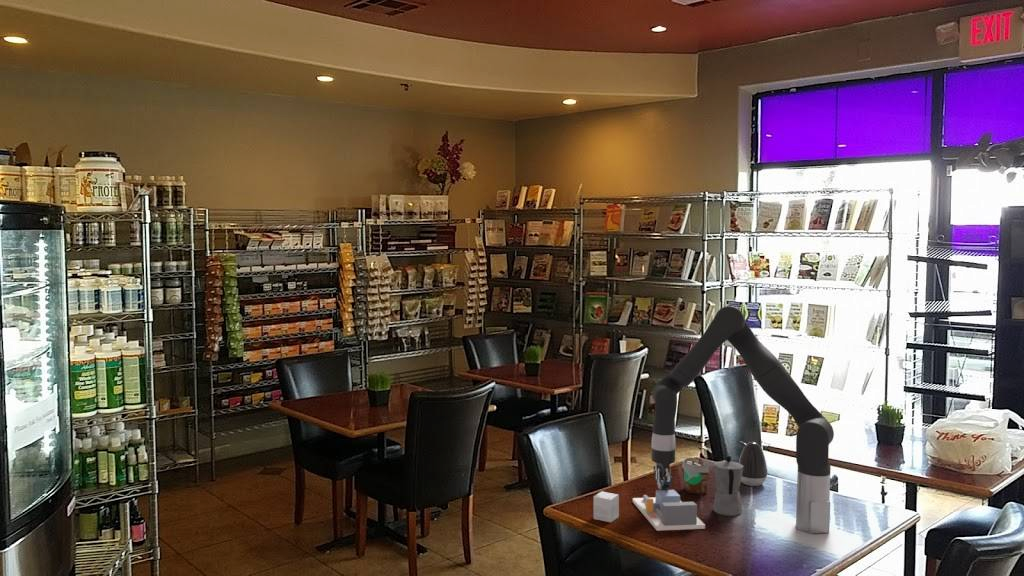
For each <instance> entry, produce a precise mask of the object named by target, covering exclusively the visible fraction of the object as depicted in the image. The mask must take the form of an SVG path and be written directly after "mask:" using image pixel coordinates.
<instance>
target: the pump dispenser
mask: <svg viewBox="0 0 1024 576" xmlns="http://www.w3.org/2000/svg"><path fill="white" fill-rule="evenodd" d="M739 444H740V445H741V446H742V447H743V448H742V451H741V454H740V456H739V460H738V463H739V464H741V465H743V466H744V467H743V473H742V478H741V483H742V484H744V485H745V486H749V487H758V486H761V485H763V484H764V483H765V481H766V479H767V477H768V467H767V460H766V458H765V453H764V451H763V449H762V447H761V445H760V444H759V443H758V442H755V441H749V442H747V443H745V442H743V441H739Z"/></svg>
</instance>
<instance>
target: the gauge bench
mask: <svg viewBox="0 0 1024 576" xmlns="http://www.w3.org/2000/svg"><path fill="white" fill-rule="evenodd" d="M646 499H653V503H655V502H656V496H655V497H650V496H648V495H647V494H643V495H642V497H632V503H633V504H634V506H636V508H637V509H638V510H639V511H640V512H641V514H642V515H643V516H644V517H645V518H646V519H647V522H649V523H650V525H651V526H652V527H653V528H654V530H655V531H658V532H659V531H681V530H702V529H703V530H706V524H705V523H704V522H703V521H702V520H701V519H700V518H699V517H698V514H697V513H698V504H697V503H695V502H694V501H682V500H681V499H680V502H670V503H662V510H661V511H660V509H659V508H658V507H657V506H653V512H646V506H645V503H646Z"/></svg>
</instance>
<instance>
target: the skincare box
mask: <svg viewBox="0 0 1024 576" xmlns="http://www.w3.org/2000/svg"><path fill="white" fill-rule="evenodd" d="M619 517H620V495H619V493H618V494H617V493H611V492H606V491H602V490H601V491H600V492H598V493H597V494H595V495H593V519H594V520H597V521H601V522H607V523H612V522H614V521H615V520H616V519H619Z"/></svg>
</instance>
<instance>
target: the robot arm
mask: <svg viewBox="0 0 1024 576" xmlns="http://www.w3.org/2000/svg"><path fill="white" fill-rule="evenodd" d="M726 341H728V342H729V344H731V346H732V347H733V348H734V349H735V350H736V351H737V352H738V354H739V355H740V357H741V358H742V360H743V362H744V364H745V366H746V368H747V369H748V371H749V372H750V374H751V375H752V377H753V379H754V380H755V381H756V383H757V384H758V386H760V388H761V389H762V390H763V392H764V393H765V394H766V395H767V396H768V397H769V398H771V400H772V401H774V402H775V403H777V404H778V405H779V406H781V408H783V409H784V410H785V411H786V412H788V413H787V414H789V415H790V416H791V417H792V419H793V420H794V421H795V423H796V425H797V426H798V429H797V431H796V436H795V438H796V439H795V440H796V441H795V450H796V451H795V457H796V458H795V460H796V464H797V478H796V479H797V482H796V508H795V509H796V513H795V515H796V516H795V527H796V528H797V529H799V530H800V531H804V532H807V533H808V534H828V533H830V525H831V524H830V523H831V521H830V520H831V501H830V494H831V493H830V491H831V490H830V489H831V468H832V467H831V464H830V460H829V450H830V448H829V447H830V444H831V443H832V442H833V440H834V436H835V435H834V434H835V433H834V429H833V426H832V424H831V423H830V422H829V420H828V419H827V418H826V417H825V416H824V415H823V414H822V413H821V412H820V411H819V410H818V409H817V408H816V407H815V406H814V405H813V404H812V402H811V401H810V399H808V397H807V396H806V395H805V394H804V393H803V391H802V389H801V388H800V387H799V385H798V384H797V383H796V381H795V380H794V379H793V378H792V376H791V375H790V373H789V372H788V370H787V369H786V368H785V367H784V365H783V363H781V361H780V360H778V358H777V357H776V356H775V354H773V353H772V352H771V351H770V350H769V349H768V348H767V347H766V346H765V345H764V344H763V343H762V342H761V341H760V340H759V339H758V337H757V336H756V334H755V333H754V332H753V331H752V329H751V328H750V326H749V324H748V323H747V320H746V319H745V316H744V314H743V312H742V311H741V310H740V308H738V307H736V306H733V305H726V306H723V307H721V308H719V310H717V312H716V313H715V315H714V317H713V319H712V321H711V322H710V324H709V325H708V327H707V329H706V330H705V331H704V333H703V334H702V336H701V337H700V338H699V340H697V341H696V343H695V344H694V345H693V346H692V347H691V348H690V349H689V350H688V352H687V353H686V354H685V355H684V356H683V357H682V358H681V359H680V361H679V362H678V363H677V364H676V365H675V366H674V367H673V369H672V370H671V371H670V372H669V373H668V374H666V375H665V377H663V378H662V379H661V380H660V381H659V382H658V383H657V384H655V386H654V388H653V389H652V393H651V396H652V399H653V400H654V416H653V419H652V436H651V449H650V450H651V451H650V452H651V453H650V454H651V457H650V458H651V459H650V460H651V461H652V462H653V463H655V465H654V466H653V473H654V478H655V484H656V485H657V488H658V490H670V488H671V484H672V482H673V479H674V478H673V476H672V475H671V472H672V469H671V467H670V466H671V464H673V463H675V461H676V421H675V420H676V414H677V406H678V396H677V395H678V393H680V391H682V389H684V388H687V387H688V386H690V385H691V384H692V382H693V381H694V380H695V379H696V378H697V376H699V374H700V373H701V372H702V371H703V369H704V368H705V367H706V365H707V364H708V363H709V361H710V359H711V358H712V356H714V354H715V353H716V351H717V350H718V349H719V348H720V347H721V346H722V345H723V344H724V343H725V342H726Z"/></svg>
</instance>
